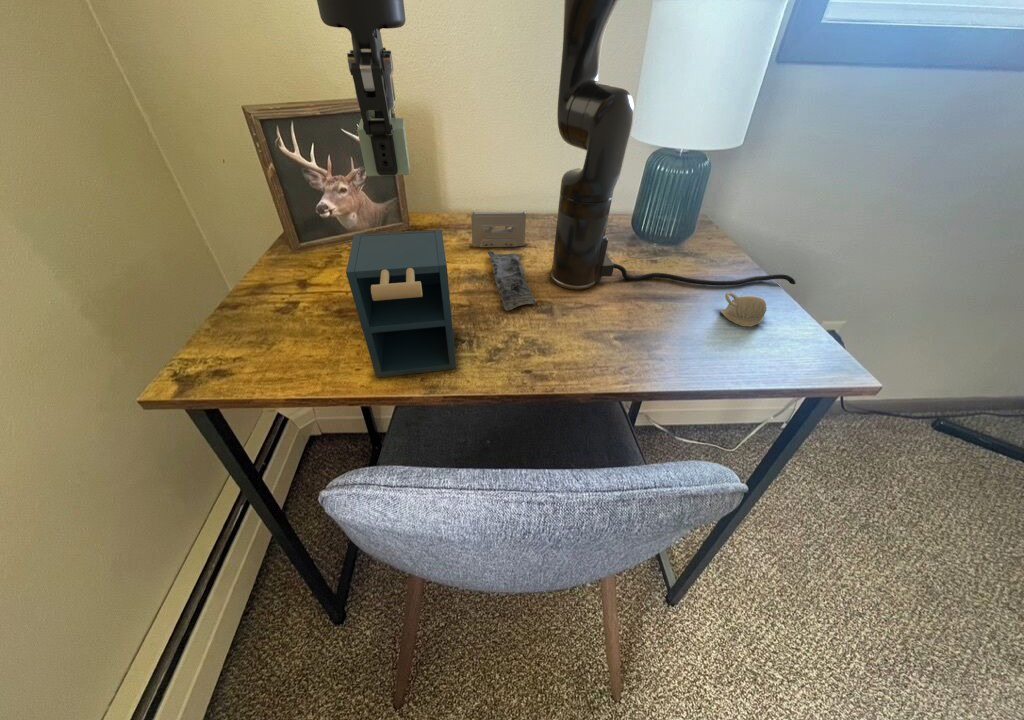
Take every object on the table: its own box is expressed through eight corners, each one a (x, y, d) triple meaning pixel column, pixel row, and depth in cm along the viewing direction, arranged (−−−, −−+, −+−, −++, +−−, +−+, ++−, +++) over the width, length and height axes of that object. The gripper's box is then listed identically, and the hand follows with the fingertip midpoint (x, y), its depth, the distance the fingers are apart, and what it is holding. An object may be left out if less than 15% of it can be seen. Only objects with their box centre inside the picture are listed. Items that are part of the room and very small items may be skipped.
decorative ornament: (764, 329, 72) (779, 304, 68) (715, 322, 73) (727, 297, 69) (759, 316, 75) (772, 291, 71) (712, 309, 76) (723, 285, 72)
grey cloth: (537, 309, 74) (537, 299, 73) (500, 312, 74) (500, 302, 72) (518, 256, 90) (518, 247, 88) (487, 257, 89) (487, 248, 87)
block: (409, 161, 48) (403, 117, 45) (409, 175, 45) (403, 128, 42) (369, 163, 47) (360, 118, 44) (366, 176, 44) (356, 129, 41)
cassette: (472, 247, 91) (470, 214, 86) (472, 244, 93) (470, 211, 87) (524, 247, 92) (526, 214, 87) (524, 243, 94) (525, 210, 88)
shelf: (352, 231, 55) (339, 292, 44) (441, 226, 57) (449, 284, 46) (379, 335, 68) (374, 403, 57) (451, 329, 69) (459, 393, 59)
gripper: (396, -48, 30) (424, 188, 41) (399, -41, 40) (420, 147, 52) (288, -54, 29) (347, 191, 40) (319, -44, 39) (359, 148, 51)
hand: (388, 165), depth 46 cm, fingers closed on block, 4 cm apart
